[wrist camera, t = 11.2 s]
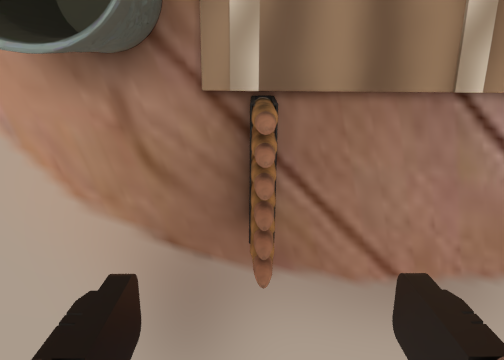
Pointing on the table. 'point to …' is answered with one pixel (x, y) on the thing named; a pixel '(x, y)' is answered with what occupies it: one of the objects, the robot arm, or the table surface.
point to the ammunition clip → (262, 185)
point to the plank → (353, 45)
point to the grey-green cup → (75, 25)
